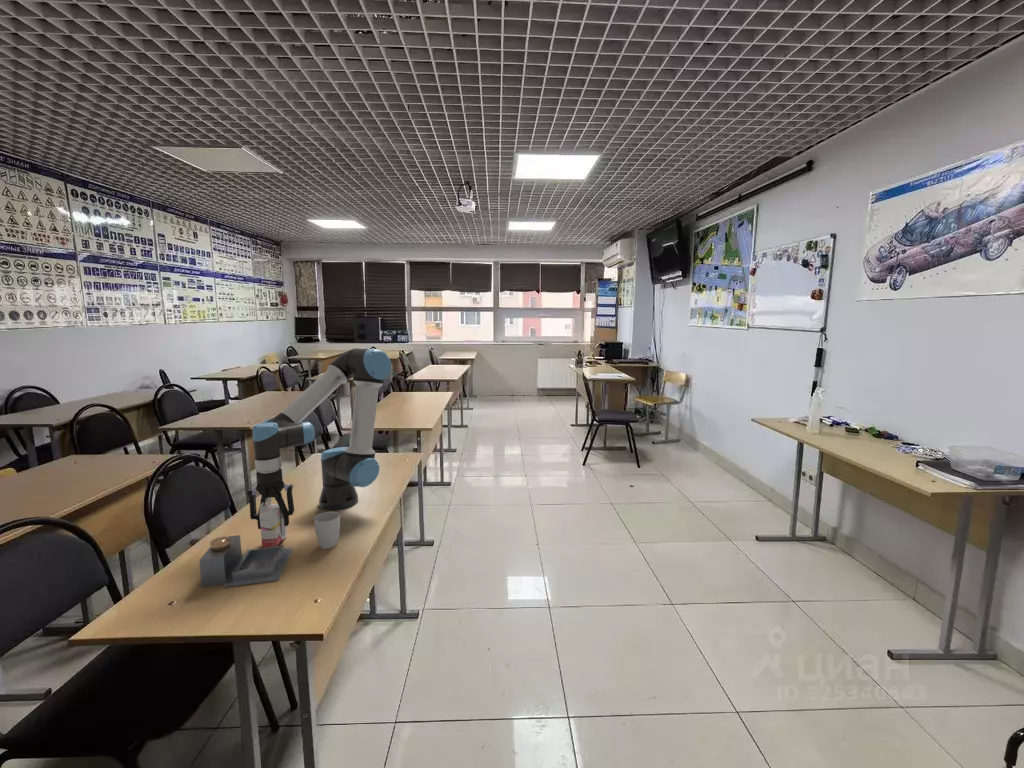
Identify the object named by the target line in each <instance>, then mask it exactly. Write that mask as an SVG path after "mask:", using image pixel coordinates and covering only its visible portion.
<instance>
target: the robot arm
mask: <svg viewBox="0 0 1024 768" xmlns="http://www.w3.org/2000/svg"><path fill="white" fill-rule="evenodd" d="M391 371H392V361H391V359H390V357H389V356H388V354H387V353H386V352H385V351H383V350H382V349H375V348H359V347H358V348H352V349H349V350H347V351H345V352H343V353H341V355H339V356H338V357H337V358H335V359H334V360H333V361H331V363H329V365H327V370H326V371H324V373H323V374H321V376H319V377H318V378H317V379H316V380H315V381H314V382H312V384H310V385H309V386H308V387H307V388H306V389H305V390H303V392H301V393H300V394H299V395H298V396H297V397H296V398H295V399H294V400H293V401H292V402H291V403H290V404H288V405H287V406H286V407H285V408H284V409H283V410H282V411H281V412H280V413H278V414H277V415H275V417H273V418H267V419H266V420H264V421H263V422H261V423H256V424H255V425H254V426H253V427H252V443H253V454H254V466H255V472H256V473H255V476H256V486H255V487H250V489H248V490H247V491H246V494H247V495H248V497H249V513H250V515H249V516H250V518H249V519H251V520H256V521H257V522H256V523H257V528H258V530H261V527H260V516H259V513H260V506H259V507H258V511H257V496H256V495H257V493H258V494H259V495H260V496H261V498H260V503H259V505H260V504H261V503H262V502H263V507H264V506H265V505H266V504H267V502H266V499H267V498H269V497H271V498H274V500H275V501H276V504H278V505H279V508H280V510H281V512H282V515H283V516H282V518H281V524H282V536H283V537H285V536H286V534H287V535H288V532H287V527H288V526H289V524H290V516H293V515H294V513H295V505H294V496H293V489H294V485H293V484H290V485H288V484H286V483H285V482H284V480H283V471H282V470H283V469H282V468H281V467H282V458H281V456H282V455H281V450H284V449H288V448H289V449H290V448H293V447H299V446H302V445H307V444H310V443H311V442H313V441H314V440H315V437H316V431H315V430H316V429H315V428H314V424H312V423H311V422H310V421H305V422H303V421H304V420H305V418H307V417H308V416H309V415H310V414H311V413H312V412H313V411H314V410H315V409H316V408H318V406H320V405H321V403H324V401H325V400H326V399H327V398H328V397H329V396H330V395H331V394H333V392H334V391H335V390H336V389H338V388H339V387H340V385H342V384H346V383H348V382H349V380H351V379H352V382H353V383H354V384H355V394H354V395H355V397H354V404H353V411H352V419H351V420H352V422H351V427H350V429H351V430H350V437H349V443H348V444H349V445H348V446H340V447H335V448H334V447H333V448H330V449H329V448H328V449H327V450H324V451H322V452H321V455H320V456H321V457H320V463H321V481H322V487H321V492H320V496H319V499H318V506H319V508H321V509H322V508H323V510H329V511H333V510H335V509H337V510H343V509H346V508H350V507H352V505H353V506H354V505H356V504H357V503H358V502H357V501H359V495H358V492H357V490H356V487H358V488H366V487H369V486H370V485H371V484H373V483H374V482H375V480H376V479H378V478H377V477H379V475H380V464H379V463H378V461H377V460H376V459H375V458H376V457H375V456H376V451H375V450H374V449H373V441H374V434H375V433H374V432H375V424H376V423H375V422H376V416H377V415H376V414H377V408H378V398H379V390H380V388H381V387H382V386H383V385H384V384H385V383H384V380H385V379H386V378H388V376H390V374H391ZM283 489H284V491H285V492H286V499H287V500H286V501H287V504H286V503H285V501H284V498H283V495H282V491H283ZM265 502H266V503H265ZM355 503H356V504H355ZM335 511H336V510H335ZM286 537H287V536H286ZM286 537H285V538H286Z"/></svg>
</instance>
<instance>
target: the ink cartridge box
mask: <svg viewBox="0 0 1024 768" xmlns="http://www.w3.org/2000/svg"><path fill="white" fill-rule="evenodd" d="M265 503H266V504H265V506H264V507H263V502H262V503H261V504H260V503H259V507H260V513H259V516H260V527H261V529H260V537H261V548H266V547H275V546H279V544H280V543H281V542H282V541H283V540H284V539H285V538H286V537H287V535H288V533H287V534H286V536H285V537H283V536H282V524H281V518H282V516H283V515H282V512H281V510H280V508H279V505H278V503H272V497H269V498H267V499H266V502H265Z"/></svg>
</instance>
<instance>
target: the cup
mask: <svg viewBox="0 0 1024 768" xmlns="http://www.w3.org/2000/svg"><path fill="white" fill-rule="evenodd" d="M313 523H314V525H313V526H314V530H315V531H314V532H315V536H316V539H317V542H318V545H319V546H320V548H321V549H324V550H327V549H331V548H334V547H336V546H337V545H338V544H337V543H338V540H339V537H340V528H341V513H340V512H337V511H325V512H322V513H321V512H320V513H319V514H317V515H315V516H314V517H313Z"/></svg>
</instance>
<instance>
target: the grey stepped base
mask: <svg viewBox="0 0 1024 768" xmlns="http://www.w3.org/2000/svg"><path fill="white" fill-rule="evenodd" d="M241 540H242V539H241V534H240V535H239V534H238V535H230V536H220V537H216V538H214V539H212V540H211V541H210V542H209V545H210V547H209V548H208V549H207V551H205V553H204V554H203V555H202V556H201V557H200V558H199V570H200V572H199V573H200V581H201V582H200V583H201V588H204V587H205V588H206V587H211V586H218V585H223V586H222V588H224V589H225V588H231V587H238V586H246V585H254V584H255V585H256V584H261V583H269V582H276V581H277V582H278V581H279V580H280V578H281V575H282V573H283V571H284V569H285V567H286V565H287V563H288V560H289V558H290V556H291V554H292V552H293V547H287V548H285V545H278V546H275V547H259V548H250V549H247V550H246V551H245V552H244V553H243V554H242V543H241V542H242V541H241Z"/></svg>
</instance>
